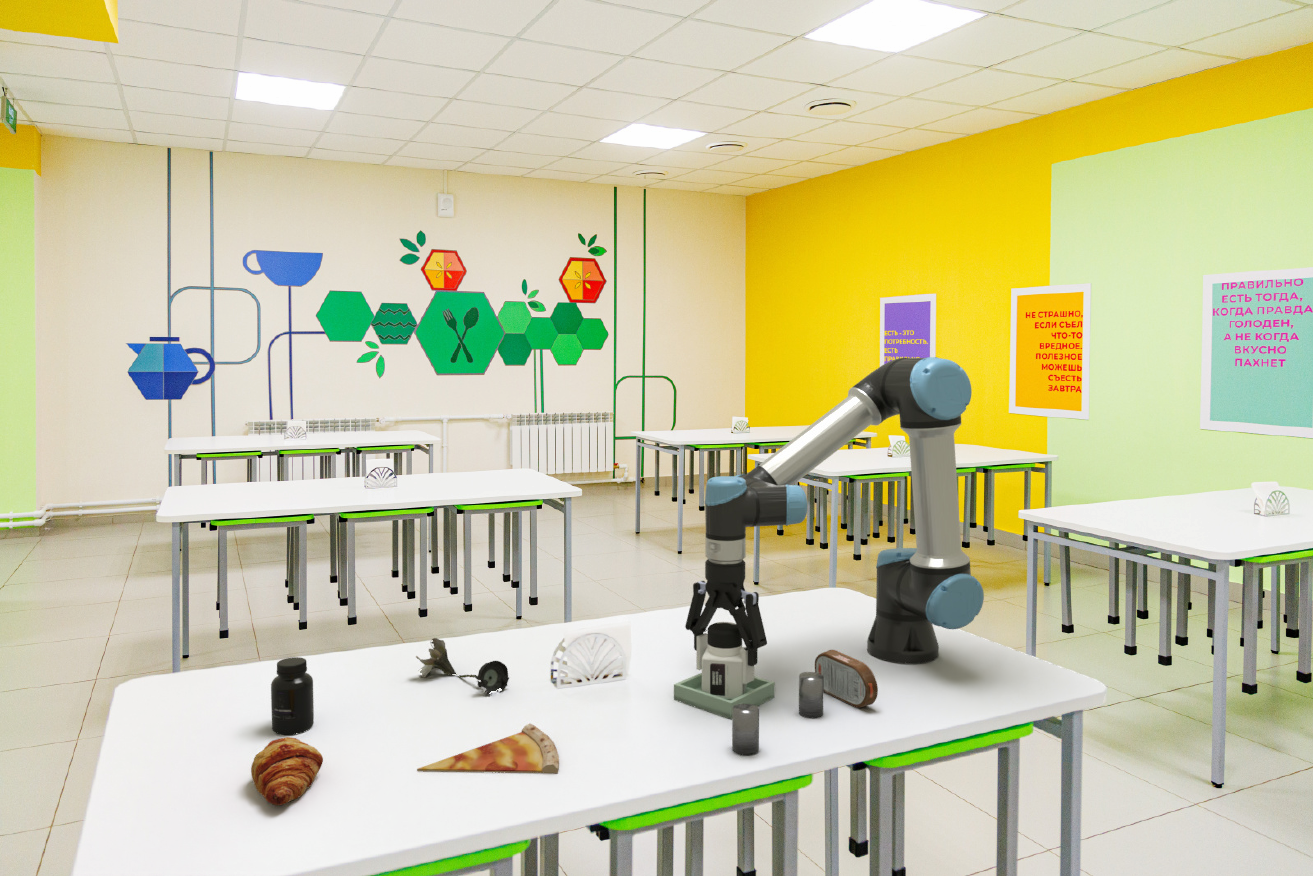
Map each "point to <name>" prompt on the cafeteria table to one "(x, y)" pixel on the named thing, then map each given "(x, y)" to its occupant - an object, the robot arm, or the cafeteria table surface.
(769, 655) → the cafeteria table surface
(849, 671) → the tin
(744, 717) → the post
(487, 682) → the artificial flower
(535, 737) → the pizza slice
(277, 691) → the supplement bottle
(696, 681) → the tray
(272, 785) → the croissant
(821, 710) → the post
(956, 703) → the cafeteria table surface
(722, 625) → the container
